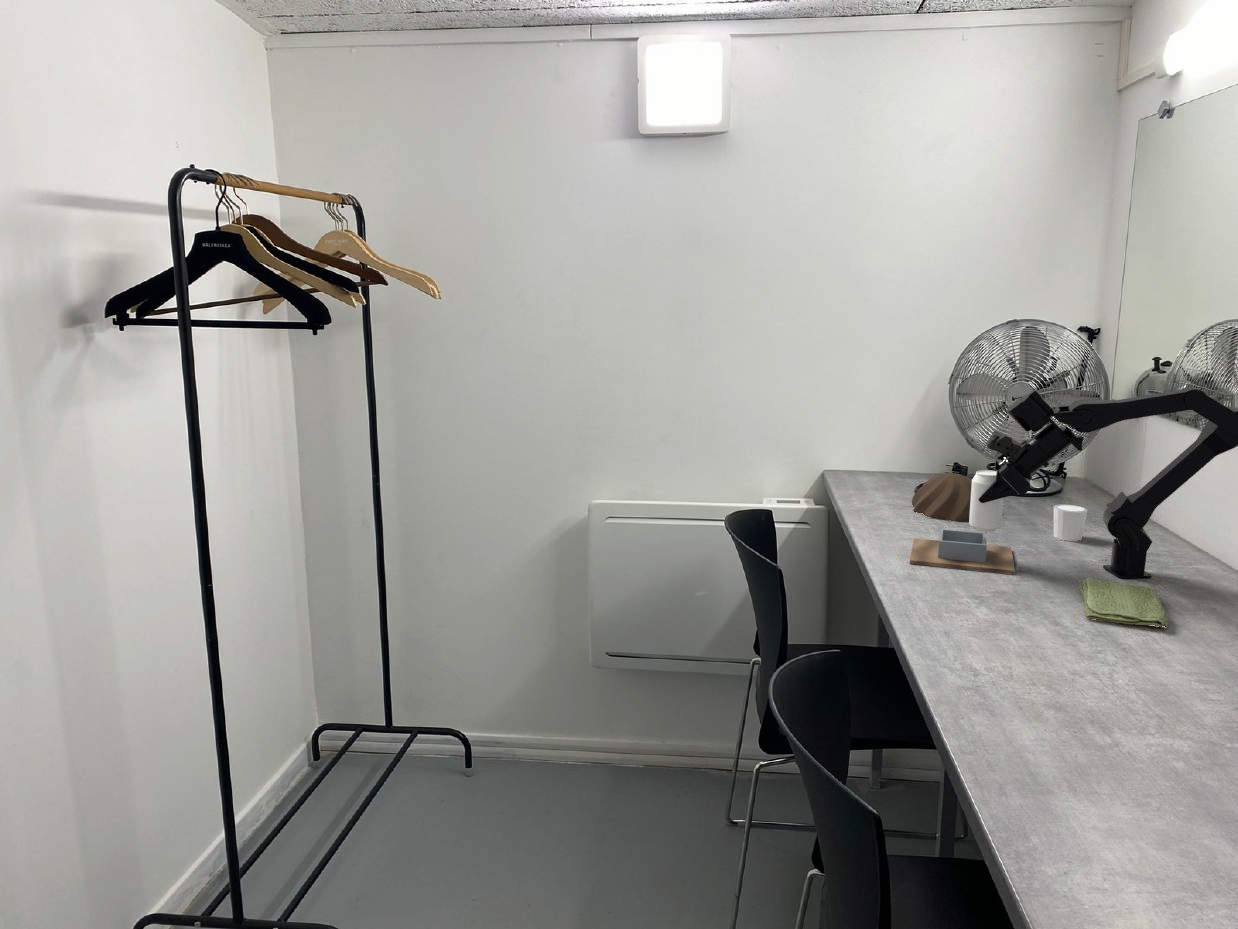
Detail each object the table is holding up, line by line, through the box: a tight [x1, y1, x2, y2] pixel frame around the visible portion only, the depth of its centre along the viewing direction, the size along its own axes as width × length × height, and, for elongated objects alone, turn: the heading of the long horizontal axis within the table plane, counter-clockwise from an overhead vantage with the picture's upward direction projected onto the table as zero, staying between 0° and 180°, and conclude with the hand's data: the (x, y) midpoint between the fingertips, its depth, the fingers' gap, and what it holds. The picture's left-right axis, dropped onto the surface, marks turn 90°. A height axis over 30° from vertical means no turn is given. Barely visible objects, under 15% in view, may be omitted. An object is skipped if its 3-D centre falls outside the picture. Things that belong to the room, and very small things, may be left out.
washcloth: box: [1078, 578, 1169, 628], centre depth 160 cm, size 13×18×3 cm
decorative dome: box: [911, 472, 973, 522], centre depth 223 cm, size 19×20×10 cm
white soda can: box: [968, 469, 1004, 533], centre depth 185 cm, size 6×6×12 cm
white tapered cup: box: [1053, 503, 1089, 542], centre depth 201 cm, size 7×7×7 cm
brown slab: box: [909, 537, 1016, 575], centre depth 189 cm, size 20×16×1 cm
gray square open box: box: [938, 528, 988, 562], centre depth 188 cm, size 9×9×4 cm
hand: (979, 497), depth 185 cm, fingers closed on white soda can, 6 cm apart
